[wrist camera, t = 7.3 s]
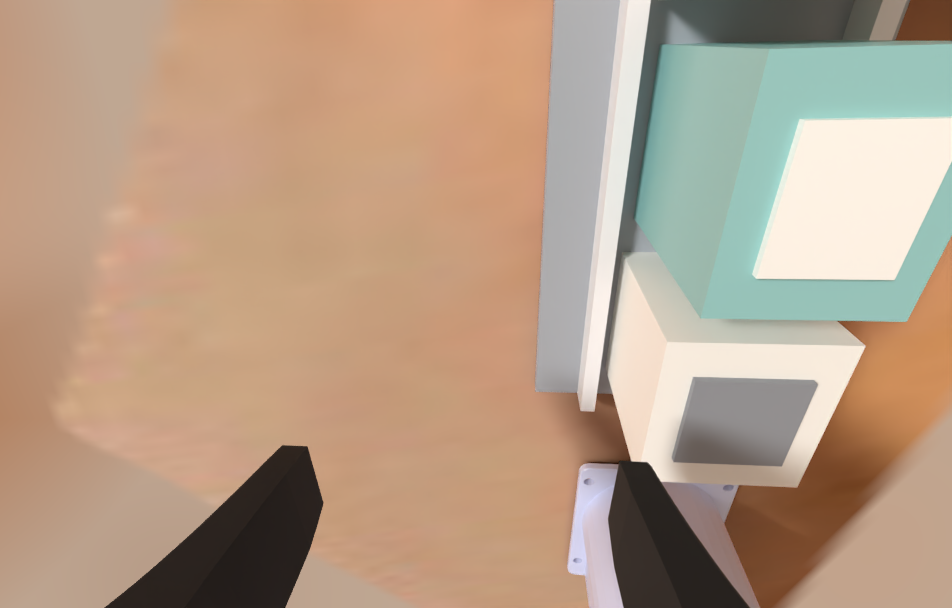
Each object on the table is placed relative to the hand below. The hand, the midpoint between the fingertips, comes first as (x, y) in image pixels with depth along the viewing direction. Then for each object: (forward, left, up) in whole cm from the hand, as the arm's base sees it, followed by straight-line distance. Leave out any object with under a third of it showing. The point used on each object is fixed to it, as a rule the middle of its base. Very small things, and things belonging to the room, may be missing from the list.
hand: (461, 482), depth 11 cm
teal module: (+6, -8, -9) cm, 13 cm away
